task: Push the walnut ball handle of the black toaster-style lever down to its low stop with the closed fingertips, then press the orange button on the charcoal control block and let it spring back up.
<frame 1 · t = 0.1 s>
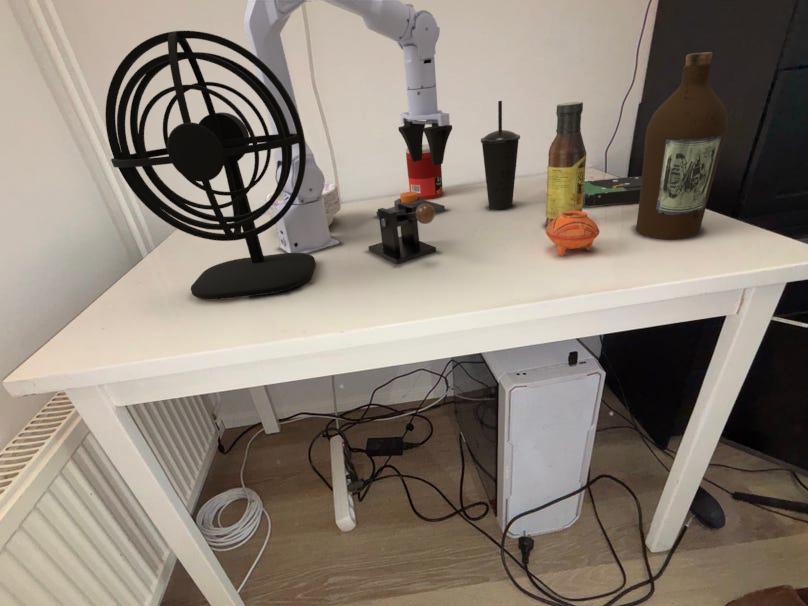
hand: (427, 162, 100), 10 cm above the table, tool pointing down, fingers open, 7 cm apart
desk fan: (254, 283, 81), on the table
drinking cup: (500, 208, 103), on the table
sauce bottle: (562, 226, 89), on the table
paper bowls: (309, 228, 105), on the table
button: (409, 198, 104), point 3 cm above the table, slide at 0.1 cm
control block: (410, 214, 106), on the table
disk drive: (613, 199, 99), on the table
pot: (570, 252, 78), on the table
bracket: (401, 252, 86), on the table
lever: (411, 216, 79), point 7 cm above the table, hinge at 15.0°
canned food: (426, 196, 118), on the table
brown liquor bottle: (666, 231, 81), on the table
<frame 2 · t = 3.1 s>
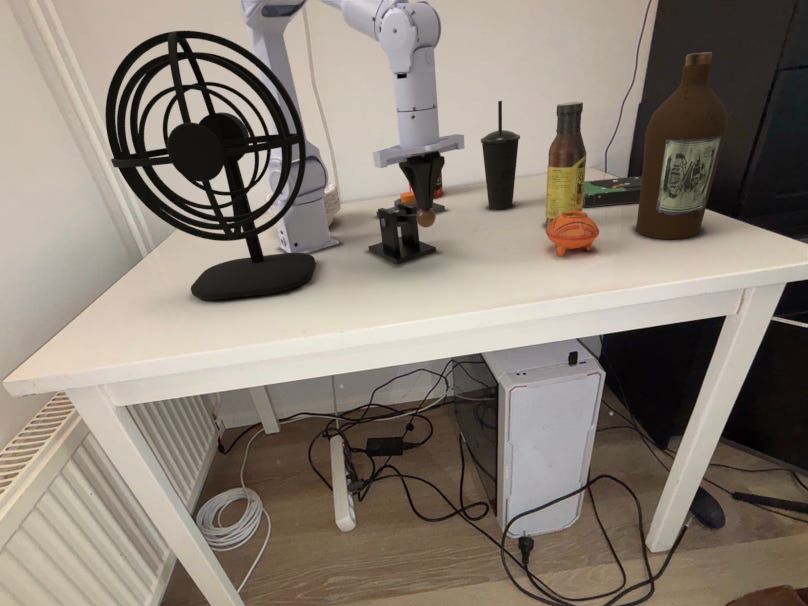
hand: (425, 207, 74), 9 cm above the table, tool pointing down, fingers closed, pressing on lever
lever: (411, 217, 79), point 7 cm above the table, hinge at 11.4°, touching gripper
everything else where it was.
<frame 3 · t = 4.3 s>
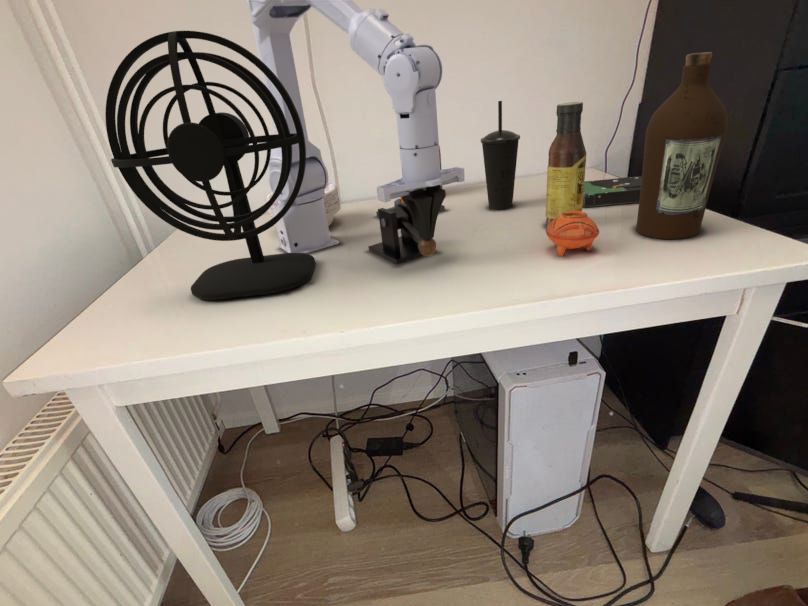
hand: (426, 237, 77), 5 cm above the table, tool pointing down, fingers closed, pressing on lever
lever: (412, 232, 80), point 5 cm above the table, hinge at -19.1°, touching gripper
everything else where it was.
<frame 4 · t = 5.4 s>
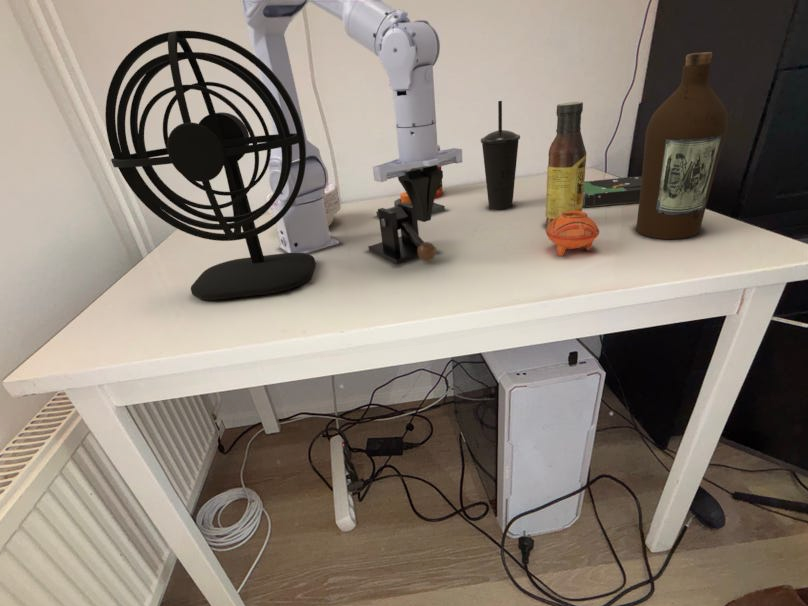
hand: (423, 219, 76), 7 cm above the table, tool pointing down, fingers closed
lever: (412, 234, 81), point 4 cm above the table, hinge at -25.7°
everything else where it was.
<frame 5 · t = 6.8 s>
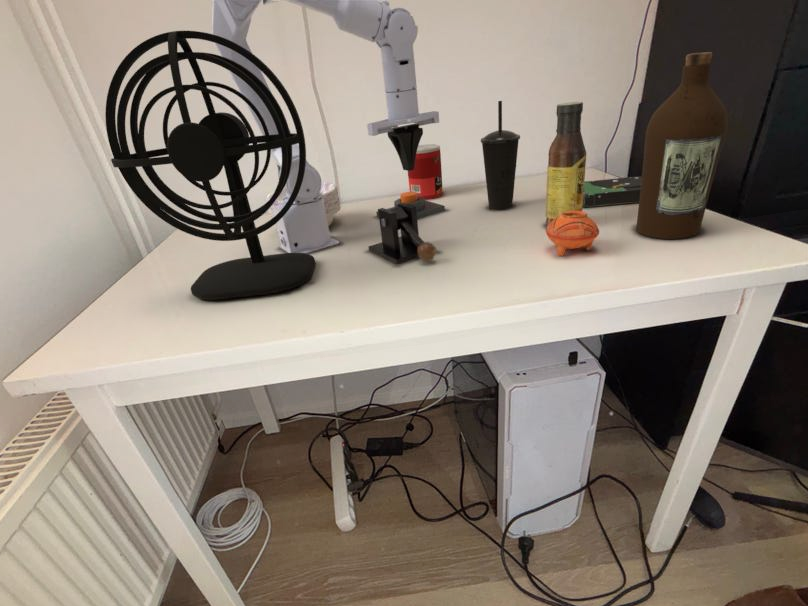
hand: (408, 169, 95), 10 cm above the table, tool pointing down, fingers closed
nothing on the table moved.
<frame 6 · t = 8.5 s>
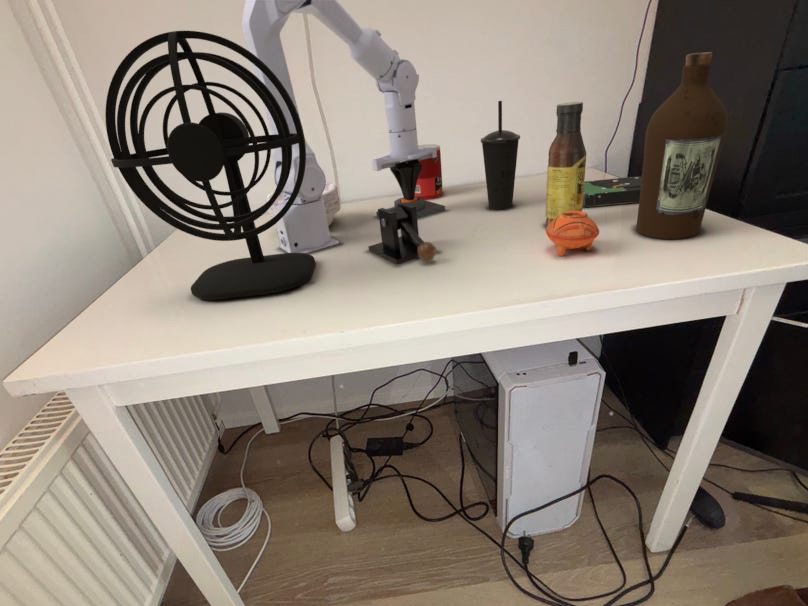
hand: (409, 199, 104), 3 cm above the table, tool pointing down, fingers closed, pressing on button
button: (409, 203, 104), point 2 cm above the table, slide at -1.0 cm, touching gripper
everything else where it was.
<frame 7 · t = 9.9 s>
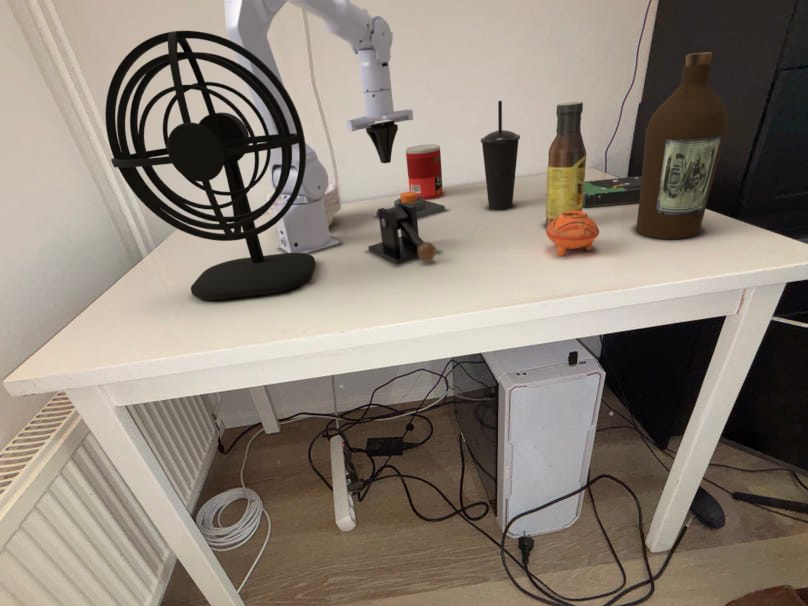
hand: (385, 162, 104), 10 cm above the table, tool pointing down, fingers closed
button: (409, 198, 104), point 3 cm above the table, slide at 0.1 cm
everything else where it was.
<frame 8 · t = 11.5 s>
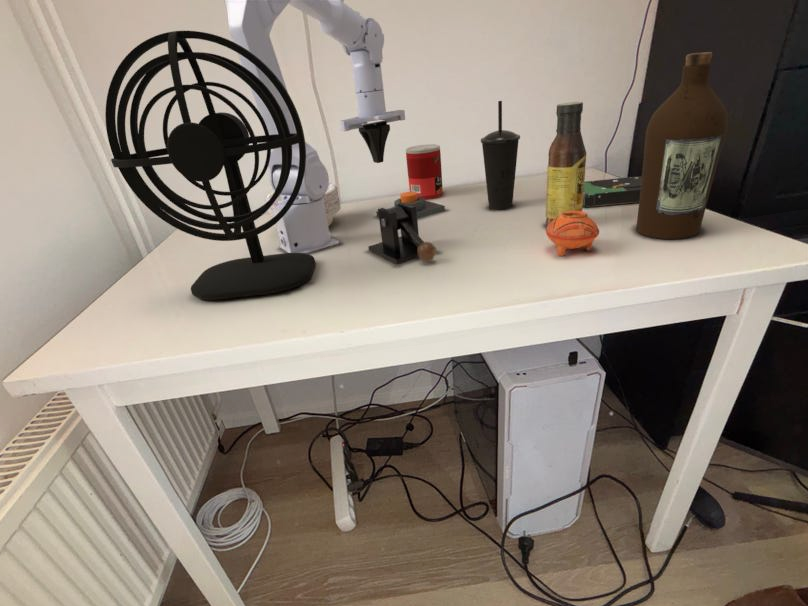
hand: (378, 162, 105), 10 cm above the table, tool pointing down, fingers closed
nothing on the table moved.
at the end: lever at -26° (first picture: +15°); button pushed in 1.2 cm at the most during the clip, back to where it started at the end; button slide at 0.1 cm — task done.
